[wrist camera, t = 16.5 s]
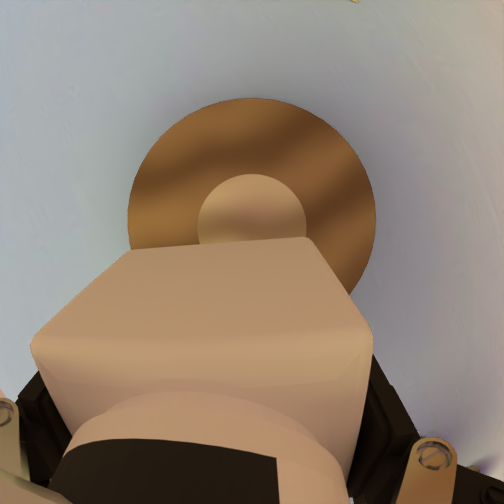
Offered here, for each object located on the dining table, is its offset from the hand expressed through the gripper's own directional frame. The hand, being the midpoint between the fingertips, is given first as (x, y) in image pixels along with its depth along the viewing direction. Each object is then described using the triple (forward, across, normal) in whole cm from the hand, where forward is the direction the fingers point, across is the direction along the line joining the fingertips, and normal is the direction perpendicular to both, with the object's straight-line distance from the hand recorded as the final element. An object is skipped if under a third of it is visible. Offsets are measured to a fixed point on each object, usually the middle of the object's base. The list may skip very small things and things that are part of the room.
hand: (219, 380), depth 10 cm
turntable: (+18, -1, -1) cm, 18 cm away
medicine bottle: (+4, 0, 0) cm, 4 cm away
